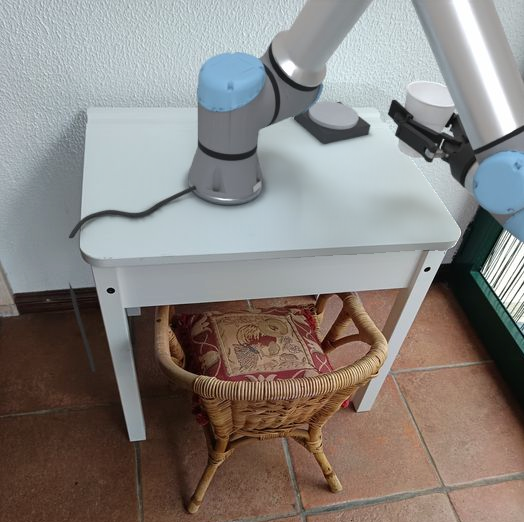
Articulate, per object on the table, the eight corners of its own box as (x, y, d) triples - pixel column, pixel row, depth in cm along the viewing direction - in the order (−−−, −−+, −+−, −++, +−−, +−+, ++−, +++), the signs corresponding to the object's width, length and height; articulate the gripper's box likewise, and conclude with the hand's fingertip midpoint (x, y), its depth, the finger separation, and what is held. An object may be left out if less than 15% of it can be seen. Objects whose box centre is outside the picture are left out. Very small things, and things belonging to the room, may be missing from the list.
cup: (434, 141, 99) (457, 85, 90) (440, 167, 93) (465, 109, 84) (386, 133, 99) (404, 76, 90) (389, 159, 92) (409, 100, 84)
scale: (323, 144, 117) (326, 130, 114) (294, 118, 123) (296, 105, 121) (368, 134, 122) (371, 121, 120) (337, 110, 129) (340, 97, 126)
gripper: (421, 197, 80) (358, 128, 93) (520, 183, 87) (448, 121, 99) (439, 155, 75) (369, 87, 87) (543, 143, 81) (464, 82, 94)
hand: (411, 105), depth 93 cm, fingers closed on cup, 8 cm apart
